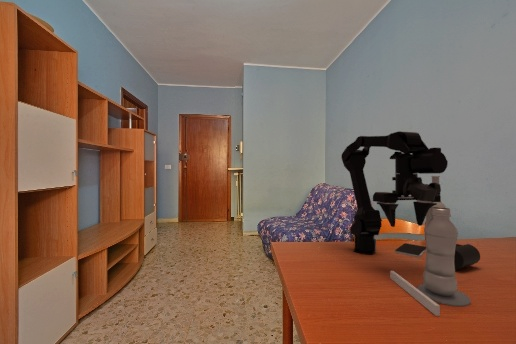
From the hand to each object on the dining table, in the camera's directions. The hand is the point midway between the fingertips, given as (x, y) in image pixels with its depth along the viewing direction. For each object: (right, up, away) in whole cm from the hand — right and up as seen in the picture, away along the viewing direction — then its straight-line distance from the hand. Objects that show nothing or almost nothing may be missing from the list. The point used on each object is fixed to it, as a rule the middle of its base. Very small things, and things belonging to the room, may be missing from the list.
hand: (406, 226), depth 73 cm
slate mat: (-1, -13, -15) cm, 20 cm away
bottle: (+27, -14, +25) cm, 39 cm away
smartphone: (+13, -14, +19) cm, 27 cm away
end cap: (+17, -13, +2) cm, 22 cm away
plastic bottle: (-1, -13, -15) cm, 20 cm away
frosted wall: (-8, -13, -15) cm, 21 cm away
